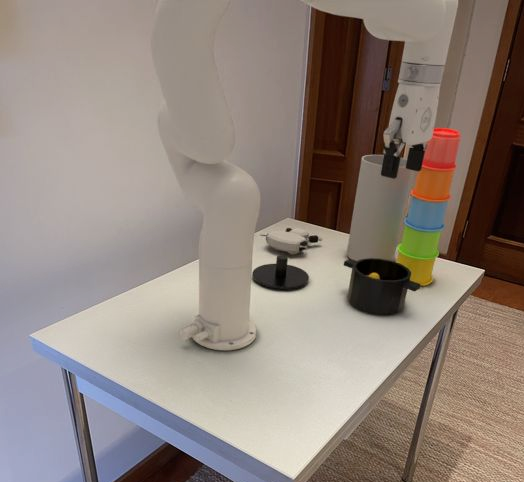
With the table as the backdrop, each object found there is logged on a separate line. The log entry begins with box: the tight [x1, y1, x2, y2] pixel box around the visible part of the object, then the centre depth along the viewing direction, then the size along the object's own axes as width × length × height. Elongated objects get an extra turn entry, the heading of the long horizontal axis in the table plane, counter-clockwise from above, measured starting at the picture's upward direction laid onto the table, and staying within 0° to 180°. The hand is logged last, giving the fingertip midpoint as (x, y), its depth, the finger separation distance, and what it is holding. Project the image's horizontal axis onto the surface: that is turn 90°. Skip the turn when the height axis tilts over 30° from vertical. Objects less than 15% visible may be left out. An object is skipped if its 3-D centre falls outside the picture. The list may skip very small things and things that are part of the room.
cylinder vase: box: [346, 154, 414, 261], centre depth 134 cm, size 12×12×25 cm
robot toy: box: [259, 227, 323, 255], centre depth 142 cm, size 12×4×15 cm
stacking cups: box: [396, 127, 462, 287], centre depth 122 cm, size 10×10×35 cm
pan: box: [343, 258, 422, 317], centre depth 116 cm, size 12×18×8 cm
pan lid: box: [251, 254, 310, 290], centre depth 124 cm, size 13×13×6 cm
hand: (401, 173), depth 103 cm, fingers open, 9 cm apart
